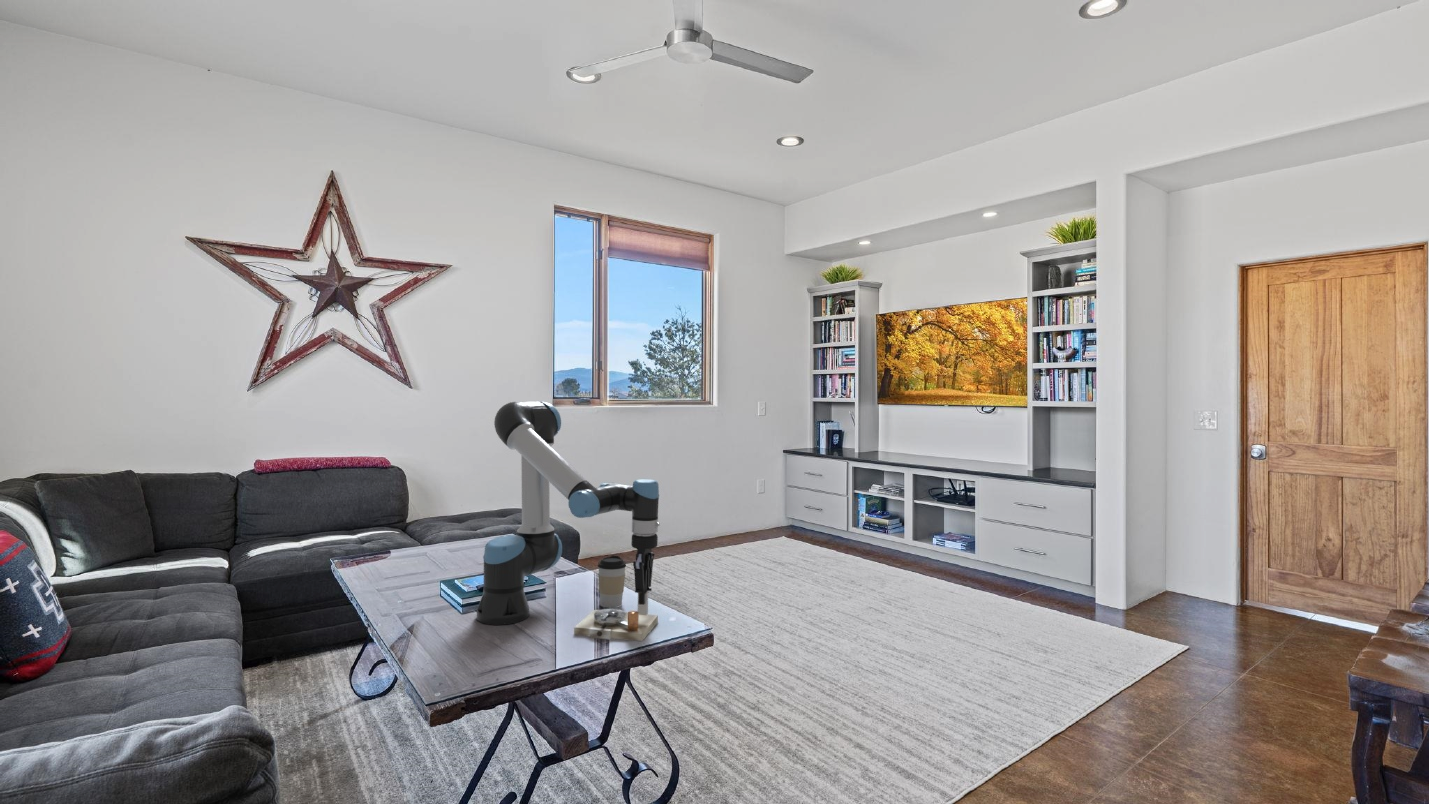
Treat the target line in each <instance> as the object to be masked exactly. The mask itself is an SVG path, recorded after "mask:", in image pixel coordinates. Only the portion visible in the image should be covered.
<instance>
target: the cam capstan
mask: <svg viewBox="0 0 1429 804" xmlns="http://www.w3.org/2000/svg"><path fill="white" fill-rule="evenodd" d="M598 610H599V611H596V612H595V613H594V622H595V623H596V624H598V625H602V626H615V625H619V626H621V627H624V628H627V629H628V630H632V631H634V630H638V620H639V612H638V610H637V611H636V610H630V611H628V612H627V613H628V622H625V612H626V611H624V610H622V609H618V608H604V609H598Z"/></svg>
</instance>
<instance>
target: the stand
mask: <svg viewBox="0 0 1429 804" xmlns="http://www.w3.org/2000/svg"><path fill="white" fill-rule="evenodd" d="M599 610H600V609H594V610H592V611H591V612H590V613H589V614H588V615H586V616H585V617H584V618H583V619H582V620H581V621H580V622H578V623H577V624H576V625H575V626H574V627H573V629H574V630H573V635H577V636H587V637H589V638H591V639H601V640H611V639H615V640H616V639H618V640H619V639H620V640H627V641H637V642H642V641H643V640H645V638H646V637H647V636H648V635H649V634H650V632H651V631H652V630H653V628H655V626H656V625H657V624H658V622H659V615H656V614H649V613H648V614H647V615H639V620H638V630H634V631H632V630H628V629H627V628H624V627H621V626H619V625H615V626H602V625H598V624H596V623H595V622H594V613H595V612H596V611H599ZM624 612H625V622H628V612H626V611H624Z"/></svg>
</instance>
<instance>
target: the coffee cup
mask: <svg viewBox="0 0 1429 804" xmlns="http://www.w3.org/2000/svg"><path fill="white" fill-rule="evenodd" d="M597 563H598V564H597V568H598V574H597V575H598V576H597V577H598V578H597V579H598V592H599V603H600V604H599V605H600V606H601V607H603V608H606V609H615V608H618V607H621V606H622V604H623V595H624V594H623V593H624V592H625V591H624V589H625V581H626V579H625V578H626V567H627V565H626V564H627V562H626V561H624V559H623V558H622V557H620V556H619V555H611V556H605V557H602V558H601V559H600V561H598V562H597Z"/></svg>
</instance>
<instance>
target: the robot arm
mask: <svg viewBox="0 0 1429 804" xmlns="http://www.w3.org/2000/svg"><path fill="white" fill-rule="evenodd" d="M493 423H494V430H495V433H496V435H497V436H498V438H499V439H500V440H501V441H502V443H503V444H504V445H505V446H506V447H508V448H509V449H510V450H516V451H517V452H518V453H519V454H520V456H521V460H520V461H521V464H520V465H521V468H520V469H521V525H520V526H519V528H518V529H516V535H515V534H509V535H506V536H504V535H503V536H498V537H495V538H493V539H492V538H491V539H490V540H489V541H488V542H487V543H486V544H485V546H484V551H483V553H484V554H483V557H482V558H483V591H482V595H481V598H480V600H479V604H478V607H477V608H476V609H477V610H476V621H478V622H479V623H482V624H485V625H493V626H495V625H496V626H499V625H501V626H502V625H510V624H516V623H519V622H523V621H525V620H526V619H527V618H528V617H530V606H529V603H528V599H527V596H526V594H525V590H524V589H525V583H524V582H525V577H527V576H530V575H533V574H537V573H539V572H544V571H547V570H549V569H551V568H553V567H554V566H555V565H557V563H558V562H559V561H560V559H561V556H562V554H563V543H562V540H561V539H560V537H559V535H558V534H557V533H555V527H554V526H553V525H552V524H551V522H550V521H551V520H550V518H551V517H550V514H551V512H550V510H551V508H550V504H551V503H550V484H551V485H552V486H553V487H554V488H555V489H556V490H557V491H558V492H560V494H562V495H563V496H564V498H566V499H567V500H568V508H569V510H570V513H571V514H572V515H573V516H574V517H576V518H579V519H583V518H592V517H594V516H597V515H600V514H606V513H611V512H613V511H626V512H631V513H632V514H631V518H632V519H631V533H632V534H631V546H632V548H633V549H636V550H637V552H636V554H635V561H633V563H632V566H633V572H634V593H636V594H637V612H639V615H647V614H648V615H649V592H651V591H652V588H651V587H652V578H653V565H654V558H655V552H652V551H653V549H655V548H657V547H658V541H659V539H658V536H659V535H658V531H659V528H658V527H660V522H659V499H660V493H659V492H660V491H659V490H660V489H659V482H658V481H657V480H654V479H650V478H649V479H646V478H645V479H644V478H641V479H636V480H634V481H633V483H632V485H630V484H621V483H615V482H604V483H601V484H600V485H599V486H598V487H595V486H593V484H591V482H590V481H588V480H587V479H586V478H585V477H584V476H583V475H582V474H581V473H579V472H578V471H577V470H576V469H575V467H573V466H572V465H571V464H570V463H569V462H568V461H567V460H566V459H565V458H564V457H563V456H562V455H561V454H559V453H558V452H557V450H555V449H554V448H553V447H552V446H553V445H554V444H555V437H556V435H558V433H559V432H560V430H561V427H562V417H561V415H560V412H559V410H558V409H557V408H556V407H555V405H553V404H551V402H546V401H539V400H538V401H512V402H508V403H506V404H504V405H502V406H501V407H500V408H499V409H498V411H497V412H496V414H495V416H494V422H493Z"/></svg>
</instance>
